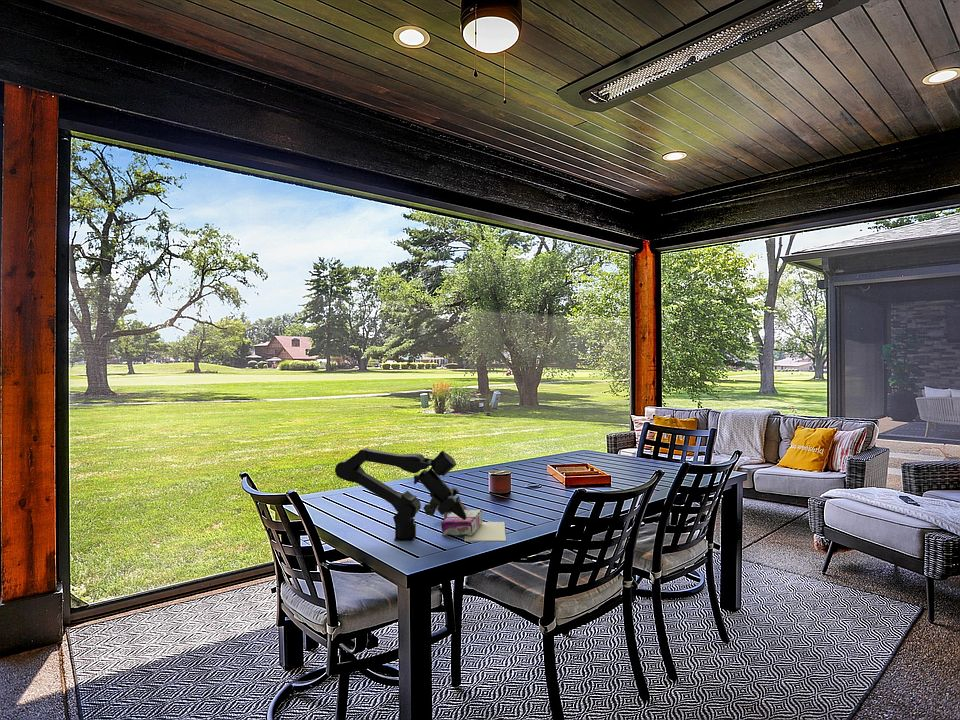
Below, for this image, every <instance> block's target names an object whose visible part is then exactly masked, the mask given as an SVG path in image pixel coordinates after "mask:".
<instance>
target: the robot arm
mask: <svg viewBox="0 0 960 720" xmlns="http://www.w3.org/2000/svg"><path fill="white" fill-rule="evenodd" d="M365 462H369V463H375V464H379V465H387V466H392V467H397V468H399V469H401V470H403V471H405V472H408V473H411V474H415V475H413V484H414V485H416V484H418V483H421V484H422V485H423V486H424V488H426V490H428V492H429V497H430V498H431V499H430V501H429V503H425V504H424V507H423V510H424V513H425V515H426V516H430V517H434V515H435V512H436V511H437V512H438V513H439V514H440V515H441V516H444V513H445V512H452V513H454V514H456V515H457V516H459V517H460V518H462V519H463V520H465V519H466V518H467V517H466V514H465V511H464V510H465V509H463V506H462V504H463V503H462V500H461V498H460V496H459V494H460V490H459V489H458V488H457V487H453V486H452V487H451V488H450V487H449V486H448V484H446V481H445V480H444V479H442V478H441V477H440V476H442V477H445V476H446V475H447V474H448V473H450V472H451V470H453V469H454V468H455V467H456V466H457V462H456V460H455V459H454V458H453V457H452V455H449V454H448V453H447V452H445V450H442V451H440V452H439V453H438V454H437V456H435V458H434V459H433V458H428V457H425V456H424V455H423V454H421V453H404V454H401V453H400V454H399V453H396V452H395V453H394V452H388V451H382V450H376V449H371V448H368V447H365V448H363V449H359V451H358V452H357V453H356V454H354V455H352V456H351V457H349V458H347V459H344V460H342V461H340V462H338V463H337V464H336V465H335V467H334V473H335V476H336V477H337V478H339V479H341V480H344V481H346V482H350V483H355V484H357V485H360V486H361V487H363V488H364V489H366V490H368V491H369V492H371V493H372V494H375V495H376V496H377V497H379V498H381V499H382V500H384V501H385V502H387V503H389V504H391V506H392V508H394V510H395V511H396V512H397V513H396V514H395V515H394V516H393V517H392V519H393V521H394V532H395V533H394V539H393V540H394V541H395V542H396V541H401V542H403V541H405V542H407V541H408V542H409V541H414V540H415V538H416V536H417V523H415V517H416V515H417V514H418V513H419V512H420V510H421V508H422V507H421V506H422V505H421V504H422V503H421V501H420V499H419V498H417V497H418V496H417V495H414V494H412V493H411V492H410V491H409V490H406V491H405V492H404V493H402V492H398V491H397V490H395V489H394V488H393V487H390V486H389V485H388V484H385V483H383V482H382V481H381V480H378V479H377V478H375V477H374V476H372V475H370V474H369V473H367V472H365V470H364V469H363V467H362V465H363V464H364V463H365ZM430 466H431V467H430ZM429 467H430V468H429ZM428 468H429V469H428ZM427 469H428V470H427ZM419 472H420V473H419ZM417 473H419V474H417ZM457 494H458V496H457V497H455V496H456V495H457ZM437 506H439V507H438V510H436V508H437Z"/></svg>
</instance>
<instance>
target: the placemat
mask: <svg viewBox="0 0 960 720" xmlns="http://www.w3.org/2000/svg"><path fill="white" fill-rule="evenodd" d="M505 525H506V524H505V521H483V522H482V524H481V525H480V526H479V528H478V529H477V530H476V531H475V533H474V534H473V535H472V536H469V535H464V542H506V541H507V538H506V526H505Z"/></svg>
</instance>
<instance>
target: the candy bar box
mask: <svg viewBox="0 0 960 720" xmlns="http://www.w3.org/2000/svg"><path fill="white" fill-rule="evenodd" d="M464 511H465V514H466V517H467V518H466V519H465V520H463V519H462V518H460V517H459V516H457V515H456V514H454V513H451V514H450V513H449V515H447V517H446V518H445V519H444V520H443V519H442V521H441V524H440V525H441V535H442V536H465V535H469V536H472V535H473V534H474V533H475V531H476V530H477V529H478V528H479V526H480V525H481V524H482V522H484V521H483V509H467V510H465V509H464Z"/></svg>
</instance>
